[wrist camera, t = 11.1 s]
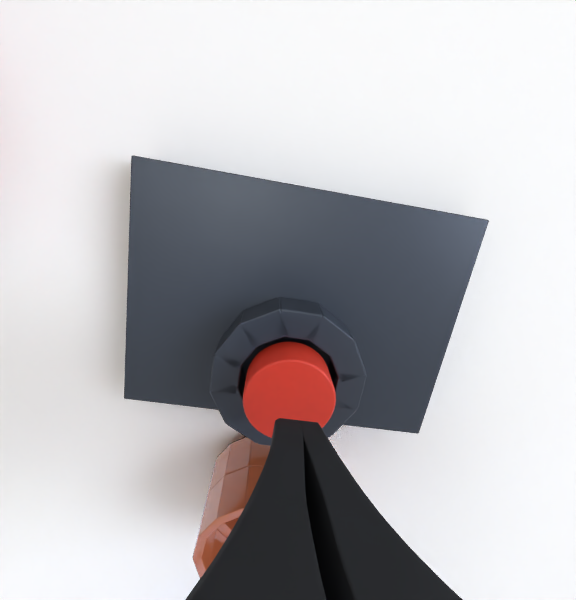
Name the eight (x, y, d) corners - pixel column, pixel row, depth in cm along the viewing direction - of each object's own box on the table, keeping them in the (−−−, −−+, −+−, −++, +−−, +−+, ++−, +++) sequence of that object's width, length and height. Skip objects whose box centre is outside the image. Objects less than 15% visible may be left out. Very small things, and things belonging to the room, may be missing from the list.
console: (404, 417, 18) (433, 464, 15) (137, 384, 17) (104, 427, 14) (466, 218, 15) (520, 221, 12) (147, 161, 14) (107, 146, 11)
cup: (227, 515, 20) (212, 613, 15) (203, 437, 18) (177, 520, 13) (319, 498, 20) (333, 592, 15) (303, 419, 18) (313, 495, 13)
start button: (320, 418, 14) (326, 446, 13) (241, 409, 14) (236, 436, 13) (336, 346, 14) (345, 366, 12) (252, 335, 13) (248, 353, 12)
